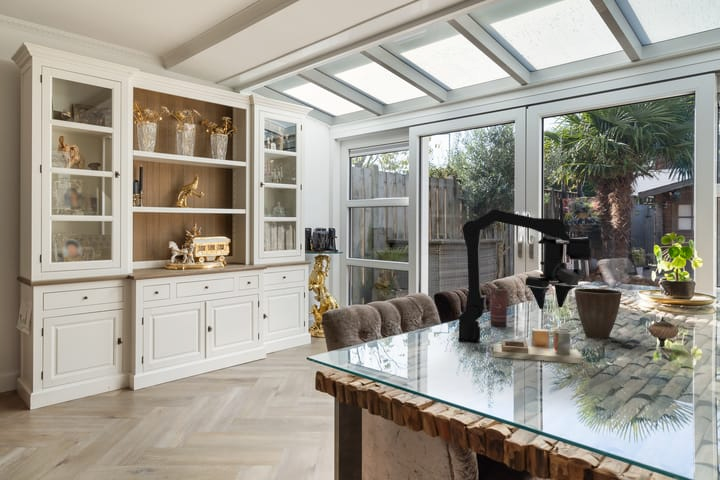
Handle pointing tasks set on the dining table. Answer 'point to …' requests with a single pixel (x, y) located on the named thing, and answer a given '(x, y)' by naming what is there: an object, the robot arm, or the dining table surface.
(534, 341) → the white wood-topped block
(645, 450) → the dining table surface
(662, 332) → the lidded footed bowl
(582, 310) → the plant pot
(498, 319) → the brown rounded cylinder
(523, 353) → the cream wooden stand
